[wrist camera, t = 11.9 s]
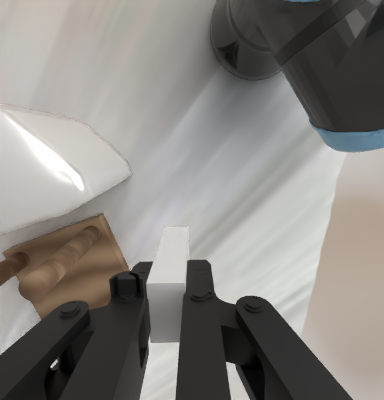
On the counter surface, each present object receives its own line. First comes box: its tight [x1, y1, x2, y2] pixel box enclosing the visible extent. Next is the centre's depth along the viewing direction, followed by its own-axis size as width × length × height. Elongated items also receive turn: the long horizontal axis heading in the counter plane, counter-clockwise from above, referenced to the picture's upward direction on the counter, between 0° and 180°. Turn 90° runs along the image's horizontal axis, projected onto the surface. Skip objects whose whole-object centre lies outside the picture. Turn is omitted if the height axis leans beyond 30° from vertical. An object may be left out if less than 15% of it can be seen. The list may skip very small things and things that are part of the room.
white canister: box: [0, 103, 132, 235], centre depth 36 cm, size 15×14×22 cm
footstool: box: [0, 214, 130, 319], centre depth 42 cm, size 20×20×21 cm
